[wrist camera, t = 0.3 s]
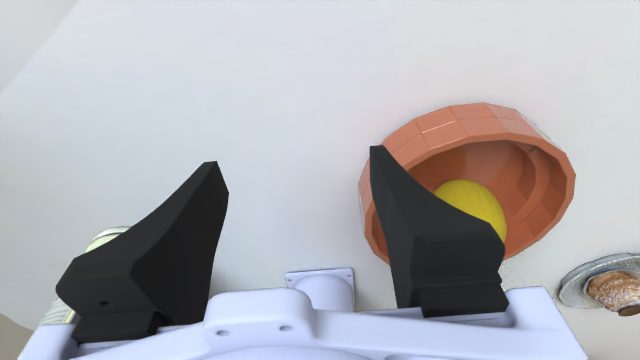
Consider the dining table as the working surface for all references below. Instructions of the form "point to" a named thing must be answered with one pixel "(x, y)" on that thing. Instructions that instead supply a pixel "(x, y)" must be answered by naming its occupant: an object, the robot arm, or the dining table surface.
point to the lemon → (474, 202)
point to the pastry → (605, 285)
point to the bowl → (481, 168)
